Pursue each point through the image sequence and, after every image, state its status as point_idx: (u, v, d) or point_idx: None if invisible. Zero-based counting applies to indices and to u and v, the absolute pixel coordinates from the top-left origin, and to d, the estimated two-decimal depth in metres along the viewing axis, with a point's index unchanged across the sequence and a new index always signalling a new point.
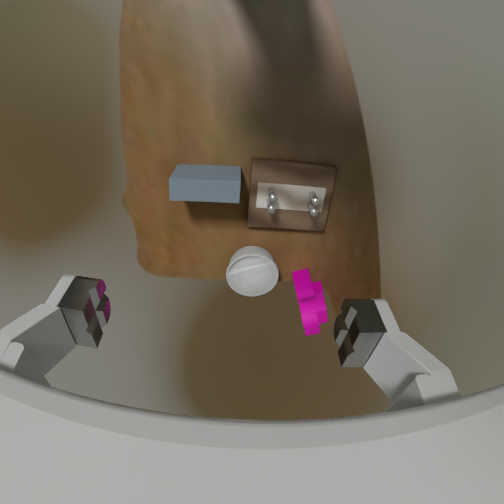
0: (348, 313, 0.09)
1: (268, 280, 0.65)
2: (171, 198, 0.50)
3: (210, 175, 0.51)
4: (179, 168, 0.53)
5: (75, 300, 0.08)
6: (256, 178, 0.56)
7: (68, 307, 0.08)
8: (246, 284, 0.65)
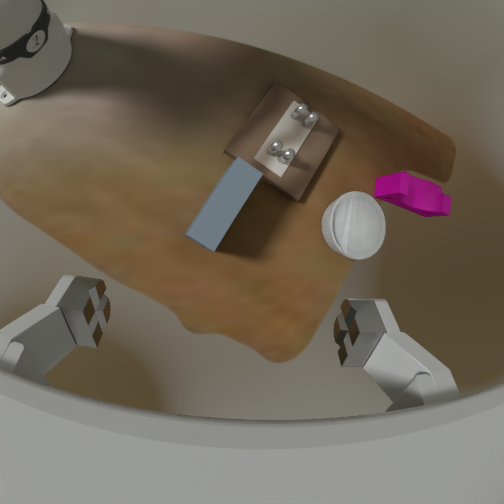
0: (348, 313, 0.09)
1: (372, 211, 0.47)
2: (212, 247, 0.38)
3: (213, 191, 0.40)
4: (187, 230, 0.42)
5: (75, 300, 0.08)
6: (248, 157, 0.45)
7: (68, 307, 0.08)
8: (365, 238, 0.47)
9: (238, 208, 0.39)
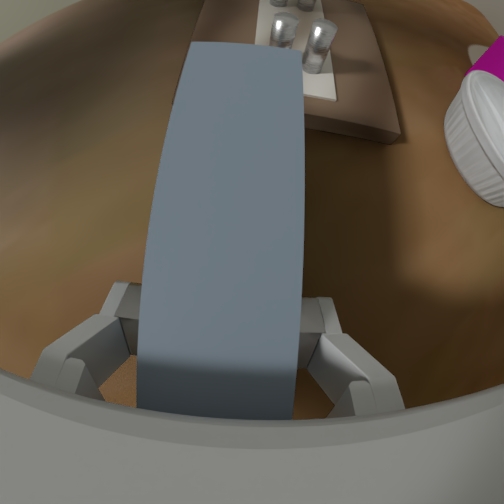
0: None
1: None
2: (277, 414, 0.07)
3: None
4: None
5: (135, 309, 0.08)
6: None
7: (128, 317, 0.08)
8: None
9: (294, 188, 0.08)
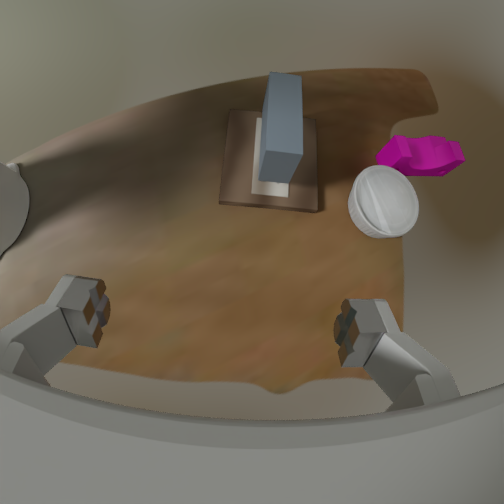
0: (348, 313, 0.09)
1: (391, 178, 0.41)
2: (299, 151, 0.31)
3: None
4: (260, 167, 0.36)
5: (75, 300, 0.08)
6: (245, 196, 0.42)
7: (68, 307, 0.08)
8: (400, 208, 0.40)
9: (300, 109, 0.32)
